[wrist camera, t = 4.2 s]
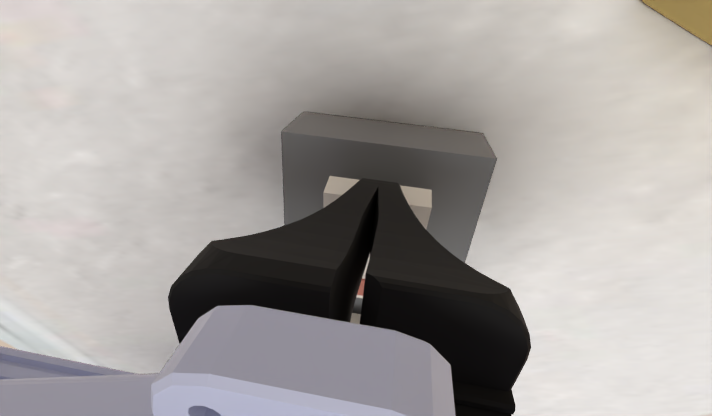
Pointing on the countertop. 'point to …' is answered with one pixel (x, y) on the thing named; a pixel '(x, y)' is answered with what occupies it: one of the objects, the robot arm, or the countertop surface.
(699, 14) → the cheese
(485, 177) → the double switch panel
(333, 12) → the countertop surface
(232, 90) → the countertop surface
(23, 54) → the countertop surface
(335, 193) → the rocker
